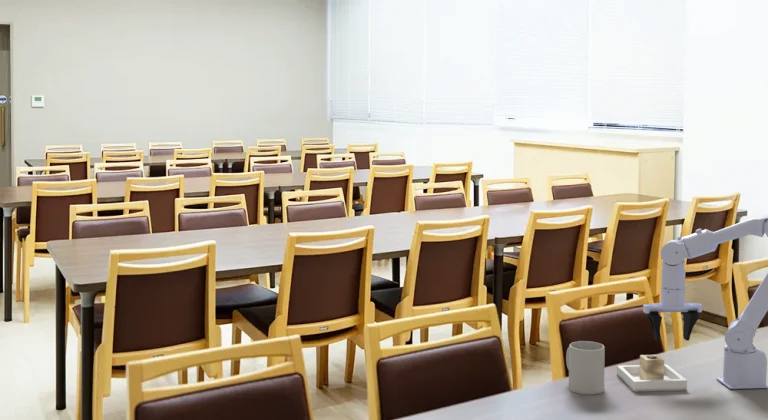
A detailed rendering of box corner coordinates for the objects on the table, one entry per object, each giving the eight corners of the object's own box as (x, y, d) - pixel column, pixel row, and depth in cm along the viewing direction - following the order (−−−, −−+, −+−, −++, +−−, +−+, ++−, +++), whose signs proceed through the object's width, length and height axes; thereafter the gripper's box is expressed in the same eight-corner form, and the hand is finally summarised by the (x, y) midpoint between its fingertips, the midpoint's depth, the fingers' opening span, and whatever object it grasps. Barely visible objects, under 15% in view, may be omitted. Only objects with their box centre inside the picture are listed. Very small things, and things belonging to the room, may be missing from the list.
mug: (611, 391, 203) (612, 347, 202) (582, 397, 200) (583, 352, 199) (580, 377, 214) (581, 336, 213) (553, 382, 211) (553, 340, 210)
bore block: (656, 377, 212) (657, 354, 211) (663, 383, 207) (664, 359, 207) (639, 378, 212) (639, 354, 211) (645, 383, 207) (646, 359, 206)
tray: (666, 373, 216) (666, 364, 216) (686, 390, 204) (686, 380, 203) (616, 375, 216) (617, 365, 216) (633, 391, 203) (634, 381, 203)
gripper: (694, 283, 217) (693, 335, 218) (639, 285, 216) (638, 336, 218) (706, 289, 210) (704, 342, 211) (649, 290, 209) (647, 343, 211)
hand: (671, 339), depth 214 cm, fingers open, 7 cm apart
